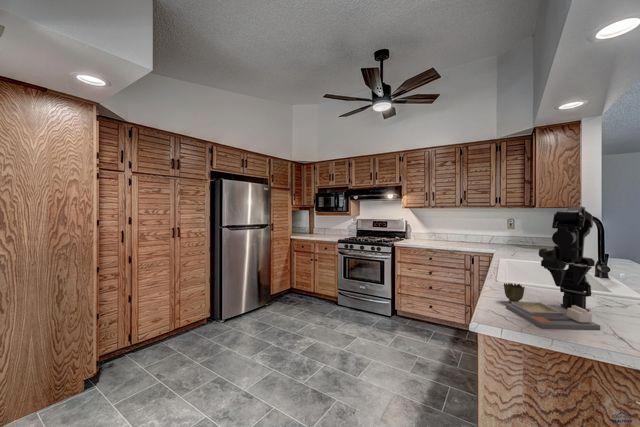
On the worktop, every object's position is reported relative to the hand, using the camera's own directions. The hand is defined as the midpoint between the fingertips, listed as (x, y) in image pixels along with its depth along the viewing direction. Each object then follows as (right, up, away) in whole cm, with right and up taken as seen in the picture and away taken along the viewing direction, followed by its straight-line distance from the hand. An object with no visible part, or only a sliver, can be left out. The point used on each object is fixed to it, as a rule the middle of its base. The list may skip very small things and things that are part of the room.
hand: (567, 285), depth 102 cm
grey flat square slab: (-6, -13, +2) cm, 14 cm away
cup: (-8, -13, +17) cm, 23 cm away
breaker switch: (0, -11, -5) cm, 12 cm away
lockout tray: (-8, -11, +5) cm, 14 cm away
